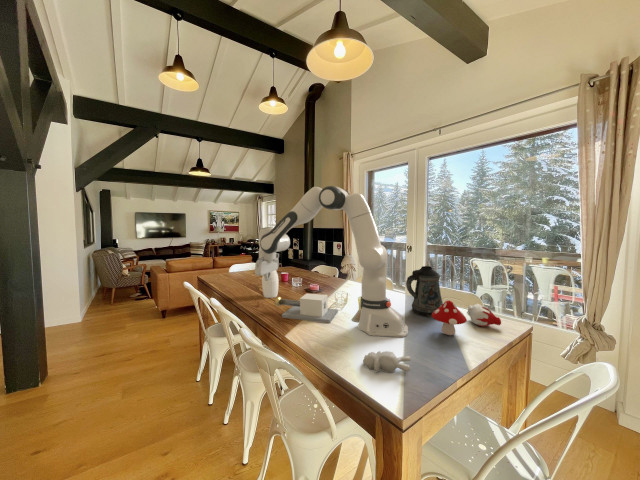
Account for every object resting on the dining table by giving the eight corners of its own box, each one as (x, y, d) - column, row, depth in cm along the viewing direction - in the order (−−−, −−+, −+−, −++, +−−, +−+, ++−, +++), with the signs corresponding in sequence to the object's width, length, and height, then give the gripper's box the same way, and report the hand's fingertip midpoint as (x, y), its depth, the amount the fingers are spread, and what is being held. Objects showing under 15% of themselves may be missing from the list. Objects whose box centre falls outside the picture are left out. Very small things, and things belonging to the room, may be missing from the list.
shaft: (308, 307, 139) (308, 298, 139) (305, 310, 134) (305, 301, 134) (279, 304, 145) (278, 295, 144) (274, 307, 140) (274, 298, 139)
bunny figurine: (366, 347, 92) (409, 349, 87) (367, 360, 92) (411, 363, 87) (360, 360, 83) (408, 363, 78) (362, 375, 84) (410, 379, 78)
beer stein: (450, 313, 136) (451, 267, 135) (429, 321, 125) (430, 271, 124) (423, 305, 150) (423, 263, 148) (401, 312, 139) (402, 266, 137)
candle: (466, 316, 130) (501, 327, 120) (460, 322, 122) (497, 335, 112) (469, 299, 129) (505, 309, 119) (463, 304, 121) (501, 316, 111)
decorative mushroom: (469, 343, 102) (470, 307, 101) (432, 338, 107) (432, 303, 106) (463, 330, 115) (464, 297, 114) (430, 326, 120) (430, 294, 119)
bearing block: (337, 312, 140) (337, 294, 139) (329, 323, 125) (329, 303, 124) (294, 307, 148) (294, 290, 147) (281, 317, 133) (281, 298, 132)
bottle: (282, 295, 173) (281, 258, 172) (271, 299, 164) (270, 260, 162) (270, 293, 179) (269, 257, 178) (258, 297, 170) (257, 259, 168)
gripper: (262, 258, 131) (262, 285, 132) (280, 254, 151) (280, 277, 152) (251, 258, 133) (252, 284, 134) (270, 253, 153) (271, 276, 154)
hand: (267, 280), depth 143 cm, fingers closed
